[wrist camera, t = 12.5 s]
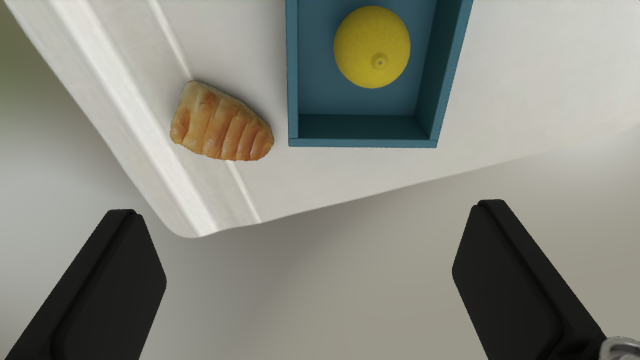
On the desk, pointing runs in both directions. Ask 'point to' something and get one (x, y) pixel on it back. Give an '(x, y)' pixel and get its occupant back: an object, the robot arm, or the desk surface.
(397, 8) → the teal open bin
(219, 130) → the pastry
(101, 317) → the robot arm
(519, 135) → the desk surface
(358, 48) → the lemon
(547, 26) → the desk surface
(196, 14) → the desk surface
